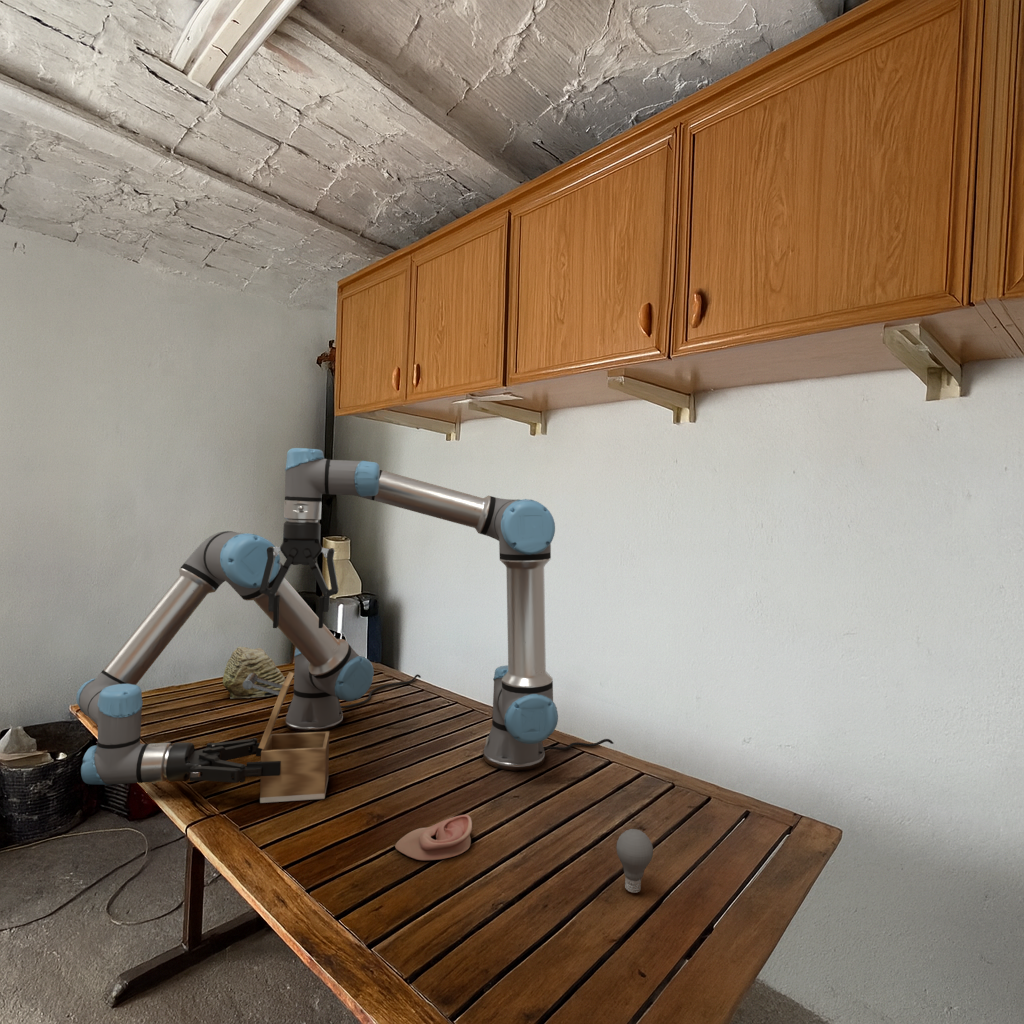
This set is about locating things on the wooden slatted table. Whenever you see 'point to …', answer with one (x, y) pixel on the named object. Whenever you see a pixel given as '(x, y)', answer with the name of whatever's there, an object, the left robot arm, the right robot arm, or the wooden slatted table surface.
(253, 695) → the fossil
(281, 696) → the lid
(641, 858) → the light bulb
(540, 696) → the right robot arm
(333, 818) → the wooden slatted table surface
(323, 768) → the chest
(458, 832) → the anatomical model
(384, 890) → the wooden slatted table surface
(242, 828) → the wooden slatted table surface
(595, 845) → the wooden slatted table surface
